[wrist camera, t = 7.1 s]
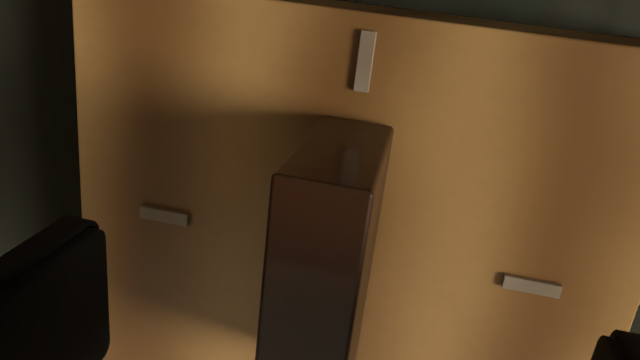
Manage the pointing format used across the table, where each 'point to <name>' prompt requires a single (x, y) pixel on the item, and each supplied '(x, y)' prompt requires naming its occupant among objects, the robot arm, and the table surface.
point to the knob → (322, 241)
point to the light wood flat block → (401, 180)
